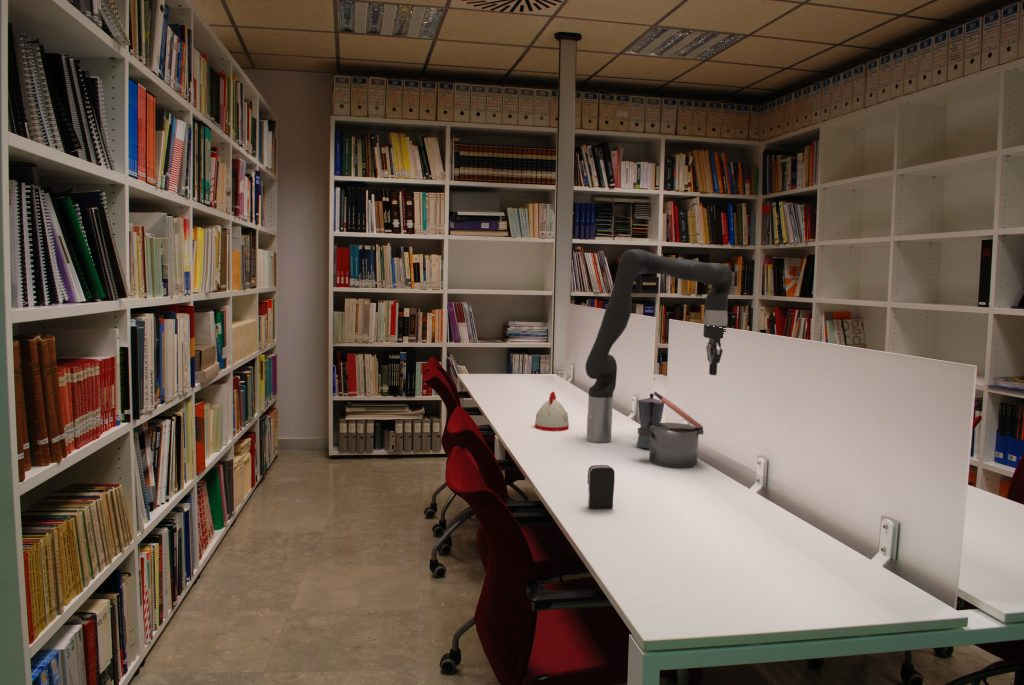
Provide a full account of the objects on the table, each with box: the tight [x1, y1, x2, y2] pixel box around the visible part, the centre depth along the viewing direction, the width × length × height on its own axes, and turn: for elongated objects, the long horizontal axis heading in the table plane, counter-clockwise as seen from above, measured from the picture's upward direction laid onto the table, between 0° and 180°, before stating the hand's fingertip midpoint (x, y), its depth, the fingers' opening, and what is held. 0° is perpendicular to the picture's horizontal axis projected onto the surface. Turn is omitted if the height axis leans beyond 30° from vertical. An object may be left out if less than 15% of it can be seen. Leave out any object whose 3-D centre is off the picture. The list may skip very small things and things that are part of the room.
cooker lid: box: [652, 391, 704, 430], centre depth 238 cm, size 20×17×1 cm
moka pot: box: [636, 393, 665, 450], centre depth 259 cm, size 10×15×20 cm, turn 174°
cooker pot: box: [637, 422, 704, 469], centre depth 239 cm, size 21×16×12 cm
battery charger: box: [587, 464, 616, 509], centre depth 190 cm, size 7×4×11 cm, turn 98°
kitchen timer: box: [534, 391, 570, 432], centre depth 289 cm, size 14×14×15 cm
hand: (712, 374), depth 236 cm, fingers closed
